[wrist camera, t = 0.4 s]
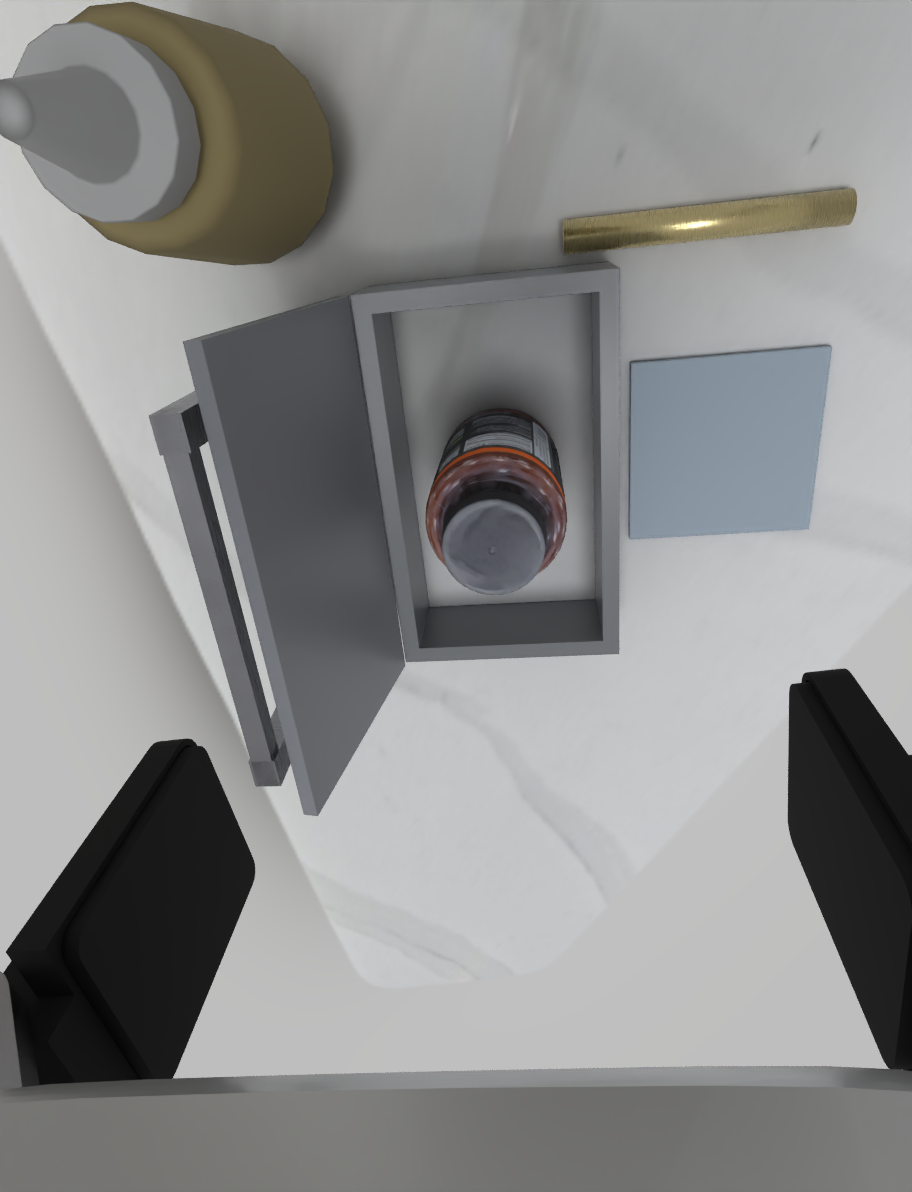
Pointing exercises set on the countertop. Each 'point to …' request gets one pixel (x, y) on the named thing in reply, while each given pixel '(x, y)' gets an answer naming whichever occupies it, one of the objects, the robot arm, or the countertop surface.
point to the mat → (725, 442)
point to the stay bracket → (219, 584)
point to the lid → (305, 525)
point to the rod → (710, 221)
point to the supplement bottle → (497, 502)
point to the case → (422, 626)
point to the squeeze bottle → (172, 134)
